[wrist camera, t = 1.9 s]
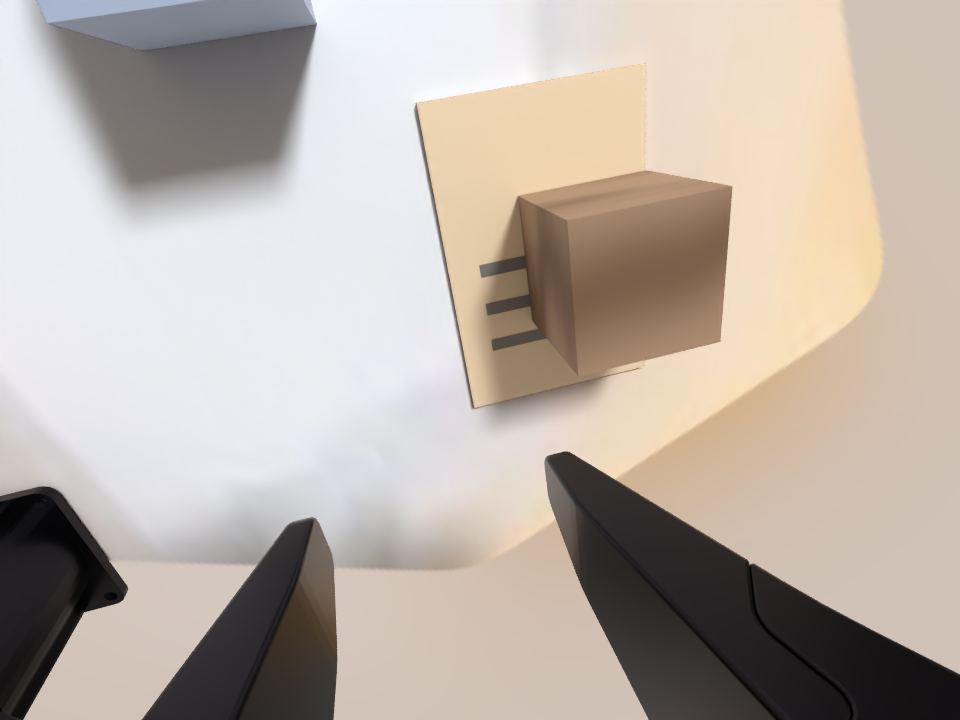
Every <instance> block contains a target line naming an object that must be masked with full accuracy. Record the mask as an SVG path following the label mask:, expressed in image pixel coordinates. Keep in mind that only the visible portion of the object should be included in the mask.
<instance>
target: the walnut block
mask: <svg viewBox="0 0 960 720" xmlns="http://www.w3.org/2000/svg"><path fill="white" fill-rule="evenodd" d="M731 198H732V186H729V185H723V184H718V183H712V182H707V181H701V180H696V179H690V178H685V177H679V176H674V175H668V174H663V173H657V172H652V171H646V170H645V171H640V172H635V173H630V174H625V175H620V176H615V177H610V178H605V179H600V180H595V181H590V182H585V183H580V184H575V185H570V186H565V187H560V188H555V189H550V190H545V191H540V192H535V193H530V194H525V195H520V196H518V201H519V209H520V218H521V227H522V236H523V244H524V253H525V262H526V271H527V279H528V288H529V297H530V305H531V314H532V321H533V322H534V324H535V325H536V326H537V327H538V328H539V330H540V331H541V332H542V333H543V334H544V336H545V337H546V338H547V339H548V340H549V342H550V343H551V344H552V345H553V346H554V348H555V349H556V350H557V351H558V353H559V354H560V355H561V356H562V357H563V359H564V360H565V361H566V362H567V363H568V365H569V366H570V367H571V368H572V369H573V371H574V372H575V373H576V374H577V375H578V377H579V376H583V375H587V374H591V373H595V372H599V371H603V370H607V369H611V368H615V367H619V366H623V365H627V364H631V363H636V362H640V361H644V360H648V359H652V358H656V357H660V356H664V355H668V354H672V353H676V352H680V351H684V350H688V349H692V348H697V347H701V346H705V345H709V344H713V343H717V342H720V338H721V325H722V312H723V300H724V287H725V274H726V261H727V249H728V236H729V223H730V210H731Z"/></svg>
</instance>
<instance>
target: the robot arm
mask: <svg viewBox="0 0 960 720" xmlns="http://www.w3.org/2000/svg"><path fill="white" fill-rule="evenodd" d="M545 472H546V481H547V489H548V496H549V500H550V504H551V507H552V509H553V512H554V515H555V517H556V520H557V523H558V525H559V528H560V531H561V533H562V536H563V539H564V542H565V544H566V547H567V550H568V552H569V555H570V558H571V560H572V563H573V566H574V569H575V571H576V574H577V576H578V578H579V581H580V584H581V586H582V589H583V591H584V593H585V595H586V597H587V599H588V601H589V603H590V605H591V607H592V609H593V611H594V613H595V615H596V617H597V619H598V621H599V623H600V625H601V627H602V629H603V631H604V632H605V635H606V637H607V638H608V640H609V642H610V644H611V646H612V648H613V650H614V652H615V654H616V656H617V658H618V660H619V662H620V664H621V666H622V668H623V670H624V672H625V674H626V676H627V678H628V680H629V681H630V684H631V686H632V688H633V689H634V691H635V693H636V695H637V697H638V699H639V701H640V703H641V705H642V707H643V709H644V711H645V713H646V715H647V717H648V719H649V720H960V674H958V673H956V672H954V671H952V670H950V669H948V668H946V667H944V666H942V665H940V664H938V663H936V662H934V661H932V660H930V659H928V658H926V657H924V656H923V655H920V654H918V653H917V652H915V651H912V650H910V649H909V648H907V647H905V646H903V645H901V644H899V643H897V642H895V641H893V640H891V639H889V638H887V637H885V636H883V635H881V634H879V633H877V632H875V631H873V630H871V629H869V628H867V627H865V626H864V625H862V624H860V623H858V622H856V621H854V620H852V619H850V618H848V617H847V616H844V615H843V614H841V613H839V612H837V611H835V610H833V609H831V608H830V607H828V606H826V605H824V604H822V603H820V602H818V601H817V600H815V599H813V598H812V597H810V596H808V595H806V594H805V593H803V592H801V591H799V590H798V589H796V588H794V587H792V586H791V585H789V584H787V583H785V582H784V581H782V580H780V579H779V578H777V577H775V576H774V575H772V574H770V573H769V572H767V571H765V570H764V569H762V568H760V567H759V566H757V565H756V564H751V565H750V566H749V561H748V560H747V559H745V558H744V557H741V556H740V555H738V554H737V553H735V552H734V551H732V550H730V549H729V548H727V547H725V546H724V545H722V544H720V543H719V542H717V541H715V540H714V539H712V538H711V537H709V536H707V535H706V534H704V533H702V532H701V531H699V530H697V529H696V528H694V527H692V526H691V525H689V524H687V523H686V522H684V521H682V520H681V519H679V518H677V517H676V516H674V515H673V514H671V513H669V512H668V511H666V510H664V509H663V508H661V507H659V506H658V505H656V504H654V503H653V502H651V501H649V500H648V499H646V498H644V497H643V496H641V495H640V494H638V493H636V492H634V491H633V490H631V489H630V488H628V487H626V486H625V485H623V484H621V483H620V482H618V481H616V480H615V479H613V478H611V477H610V476H608V475H607V474H605V473H603V472H602V471H600V470H598V469H597V468H595V467H593V466H592V465H590V464H588V463H587V462H585V461H583V460H582V459H580V458H578V457H577V456H575V455H573V454H572V453H570V452H561V453H557V454H553V455H549V456H547V457H546V458H545ZM39 498H41V499H44V500H45V501H47V502H45V501H42V500H40V499H39ZM127 591H128V587H127V585H126V584H125V583H124V581H123V580H122V578H121V577H120V575H119V574H118V573H117V571H116V570H115V569H114V567H113V566H112V564H111V563H110V562H109V560H108V559H107V558H106V556H105V555H104V554H103V552H102V551H101V549H100V548H99V547H98V545H97V544H96V543H95V541H94V540H93V539H92V537H91V536H90V534H89V533H88V532H87V530H86V529H85V528H84V526H83V525H82V524H81V522H80V521H79V519H78V518H77V517H76V515H75V514H74V513H73V511H72V510H71V509H70V507H69V506H68V504H67V503H66V502H65V500H64V499H63V498H62V496H61V495H60V493H59V492H57V491H56V490H55V489H53V488H50V487H45V486H44V487H36V488H32V489H28V490H24V491H20V492H15V493H11V494H7V495H3V496H0V720H23V719H24V717H25V715H26V714H27V712H28V710H29V708H30V707H31V705H32V703H33V701H34V700H35V698H36V696H37V694H38V693H39V691H40V689H41V687H42V686H43V684H44V682H45V680H46V678H47V677H48V675H49V673H50V671H51V669H52V668H53V666H54V664H55V662H56V661H57V659H58V657H59V656H60V654H61V652H62V650H63V649H64V647H65V645H66V643H67V641H68V640H69V638H70V636H71V634H72V633H73V631H74V629H75V627H76V626H77V624H78V622H79V620H80V618H81V617H82V615H83V613H84V612H87V611H91V610H95V609H98V608H102V607H106V606H110V605H113V604H117V603H119V602H121V601H122V600H123V599H124V597H125V595H126V593H127ZM336 675H337V635H336V612H335V587H334V564H333V558H332V554H331V550H330V548H329V546H328V543H327V541H326V538H325V536H324V534H323V531H322V529H321V527H320V524H319V522H318V521H317V520H316V518H313V517H310V518H306V519H302V520H298V521H294V522H292V523H290V524H288V525H287V526H286V527H285V529H284V530H283V532H282V533H281V534H280V536H279V537H278V538H277V540H276V541H275V542H274V544H273V545H272V546H271V548H270V549H269V550H268V552H267V553H266V554H265V556H264V557H263V558H262V560H261V561H260V562H259V564H258V565H257V566H256V568H255V569H254V570H253V572H252V573H251V574H250V576H249V577H248V578H247V580H246V581H245V582H244V584H243V585H242V586H241V588H240V589H239V590H238V592H237V593H236V595H235V596H234V597H233V599H232V600H231V601H230V603H229V604H228V605H227V607H226V608H225V609H224V611H223V612H222V614H221V615H220V616H219V617H218V619H217V620H216V621H215V623H214V624H213V625H212V627H211V628H210V629H209V631H208V632H207V633H206V635H205V636H204V637H203V639H202V640H201V641H200V643H199V644H198V645H197V647H196V648H195V649H194V651H193V652H192V653H191V655H190V656H189V657H188V659H187V660H186V661H185V663H184V664H183V666H182V667H181V668H180V669H179V671H178V672H177V673H176V675H175V676H174V677H173V679H172V680H171V682H170V683H169V684H168V685H167V687H166V688H165V689H164V691H163V692H162V693H161V695H160V696H159V698H158V699H157V700H156V702H155V703H154V704H153V706H152V707H151V708H150V710H149V711H148V712H147V714H146V715H145V716H144V718H143V719H142V720H333V718H334V703H335V689H336Z"/></svg>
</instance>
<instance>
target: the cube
mask: <svg viewBox="0 0 960 720" xmlns="http://www.w3.org/2000/svg"><path fill="white" fill-rule="evenodd" d="M36 1H37V3H38V5H39V7H40V9H41V11H42V14H43V16H44V18H45V20H46V22H47V23H48V24H52V25H55V26H59V27H62V28H66V29H69V30H73V31H76V32H79V33H83V34H86V35H90V36H93V37H97V38H100V39H104V40H107V41H111V42H114V43H118V44H121V45H125V46H128V47H132V48H135V49H139V50H142V51H146V50H152V49H159V48H165V47H172V46H179V45H185V44H192V43H198V42H205V41H211V40H218V39H225V38H231V37H238V36H244V35H251V34H258V33H264V32H271V31H277V30H284V29H290V28H297V27H304V26H310V25H317V23H316V20H315V16H314V12H313V8H312V4H311V0H36Z"/></svg>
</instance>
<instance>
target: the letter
mask: <svg viewBox="0 0 960 720" xmlns="http://www.w3.org/2000/svg"><path fill="white" fill-rule="evenodd" d="M416 105H417V110H418V115H419V120H420V126H421V131H422V136H423V141H424V147H425V152H426V157H427V162H428V168H429V173H430V178H431V184H432V189H433V194H434V199H435V205H436V210H437V215H438V220H439V226H440V231H441V236H442V241H443V247H444V252H445V257H446V262H447V268H448V273H449V278H450V284H451V289H452V294H453V299H454V305H455V310H456V315H457V320H458V326H459V331H460V336H461V341H462V347H463V352H464V357H465V362H466V368H467V373H468V378H469V384H470V389H471V394H472V399H473V405H474V408H477V407H481V406H485V405H489V404H493V403H497V402H501V401H505V400H510V399H514V398H518V397H522V396H526V395H530V394H534V393H538V392H542V391H546V390H550V389H554V388H558V387H563V386H567V385H571V384H575V383H579V382H583V381H587V380H591V379H595V378H599V377H603V376H607V375H612V374H616V373H620V372H624V371H628V370H632V369H636V368H640V367H644V366H645V360H644V361H640V362H636V363H631V364H627V365H623V366H619V367H615V368H611V369H607V370H603V371H599V372H595V373H591V374H587V375H583V376H579V377H578V375H577V374H576V373H575V372H574V371H573V369H572V368H571V367H570V366H569V365H568V363H567V362H566V361H565V360H564V359H563V357H562V356H561V355H560V354H559V353H558V351H557V350H556V349H555V348H554V346H553V345H552V344H551V343H550V342H549V340H548V339H547V338H546V337H545V336H544V334H543V333H542V332H541V331H540V330H539V328H538V327H537V326H536V325H535V324H534V322H533V321H532V314H531V305H530V297H529V288H528V279H527V271H526V262H525V253H524V244H523V236H522V227H521V218H520V209H519V201H518V196H520V195H525V194H530V193H535V192H540V191H545V190H550V189H555V188H560V187H565V186H570V185H575V184H580V183H585V182H590V181H595V180H600V179H605V178H610V177H615V176H620V175H625V174H630V173H635V172H640V171H645V170H646V63H644V64H638V65H632V66H627V67H621V68H615V69H609V70H603V71H598V72H592V73H586V74H580V75H575V76H569V77H563V78H557V79H551V80H546V81H540V82H534V83H528V84H523V85H517V86H511V87H505V88H499V89H494V90H488V91H482V92H476V93H471V94H465V95H459V96H453V97H447V98H442V99H436V100H430V101H424V102H419V103H416Z"/></svg>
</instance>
